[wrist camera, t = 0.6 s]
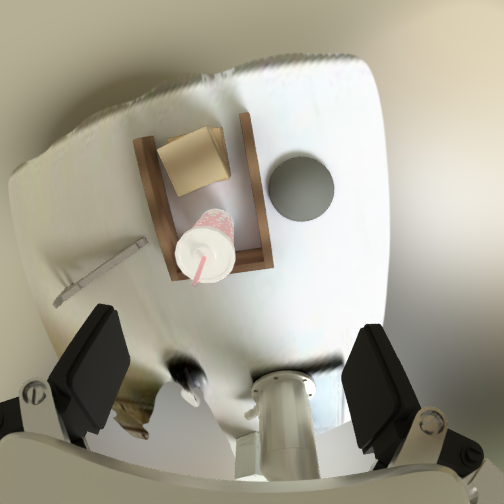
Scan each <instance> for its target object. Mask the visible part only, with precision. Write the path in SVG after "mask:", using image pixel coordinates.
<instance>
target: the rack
mask: <svg viewBox="0 0 504 504" xmlns="http://www.w3.org/2000/svg"><path fill="white" fill-rule="evenodd" d="M239 116H240V121H241V127H242V133H243V138H244V144H245V150H246V155H247V161H248V167H249V173H250V178H251V184H252V190H253V196H254V202H255V208H256V214H257V220H258V226H259V232H260V238H261V244H262V248H256V249H250V250H243V251H236V252H235V263H234V266H233V269H232V271H231V272H230V273H229V274H232V273H239V272H247V271H254V270H261V269H269V268H274V264H273V256H272V248H271V242H270V235H269V228H268V222H267V215H266V209H265V203H264V196H263V190H262V184H261V178H260V172H259V166H258V160H257V154H256V148H255V142H254V136H253V130H252V124H251V119H250V114H249V112H248V113H242V114H239ZM133 143H134V148H135V153H136V157H137V162H138V166H139V170H140V174H141V178H142V182H143V186H144V190H145V194H146V198H147V202H148V205H149V209H150V213H151V216H152V220H153V223H154V227H155V230H156V233H157V237H158V240H159V243H160V247H161V250H162V253H163V256H164V259H165V262H166V265H167V268H168V271H169V274H170V277H171V280H172V281H177V280H185V279H190V278H189V277H188V276H186V275H185V274H183V272H182V271H181V269H180V268H179V266H178V265H177V262H176V257H175V250H176V245H177V242H178V241H179V240H178V237H177V233H176V230H175V226H174V222H173V218H172V215H171V211H170V207H169V203H168V199H167V195H166V191H165V187H164V183H163V179H162V174H161V170H160V166H159V161H158V157H157V152H156V148H155V143H154V138H153V136H149V137H142V138H138V139H135V140H133Z"/></svg>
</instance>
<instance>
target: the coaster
mask: <svg viewBox="0 0 504 504" xmlns="http://www.w3.org/2000/svg"><path fill="white" fill-rule="evenodd" d="M269 193H270V198H271V201H272V204H273V206H274V207H275V209H276V210H277V211H278V212H279V213H280V214H281V215H282V216H284V217H286V218H288V219H290V220H293V221H301V222H303V221H309V220H313V219H315V218H317V217H319V216H320V215H322V214H323V213H324V212H325V211H326V210H327V209H328V207H329V206H330V204H331V202H332V199H333V196H334V182H333V179H332V176H331V174H330V173H329V171H328V170H327V169H326V168H325V167H324V166H323V165H322V164H321V163H319V162H318V161H316V160H313V159H310V158H306V157H297V158H292V159H290V160H287V161H285V162H284V163H282V164H281V165H280V166H279V167H278V168H277V169H276V170H275V172H274V173H273V175H272V177H271V180H270V185H269Z"/></svg>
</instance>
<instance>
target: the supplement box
mask: <svg viewBox="0 0 504 504" xmlns="http://www.w3.org/2000/svg"><path fill="white" fill-rule="evenodd" d="M235 479H237V480H241V481H259V482H265V481H268V480H267V479H266V478H265V477H264V476H263V474H262V472H261V470H260V465H259V433H258V432H254V433H251V434H248V435H246V436H243V437H240V438H238V439H237V441H236V463H235Z"/></svg>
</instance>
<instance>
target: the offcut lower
mask: <svg viewBox="0 0 504 504" xmlns="http://www.w3.org/2000/svg"><path fill="white" fill-rule="evenodd" d="M212 130H213V133H214V135H215V137H216V140H217V142H218V144H219V147H220V149H221V151H222V154H223V156H224V158H225V161H226V163H227V166H228V168H229V170H230V167H229V161H228V156H227V150H226V145H225V139H224V134H223V128H222V127H218V128H213V129H212ZM185 135H187V134H185ZM185 135H181V136H177V137H173V138H169V139H167V141H168V144H169V143H171V142H173V141H175V140H177V139H179V138H181V137H183V136H185ZM230 176H231V172H230V173H229V175H228V177H225V178H223V179H220V180H218V181H223V180H229V178H230ZM215 182H217V181H215Z"/></svg>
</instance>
